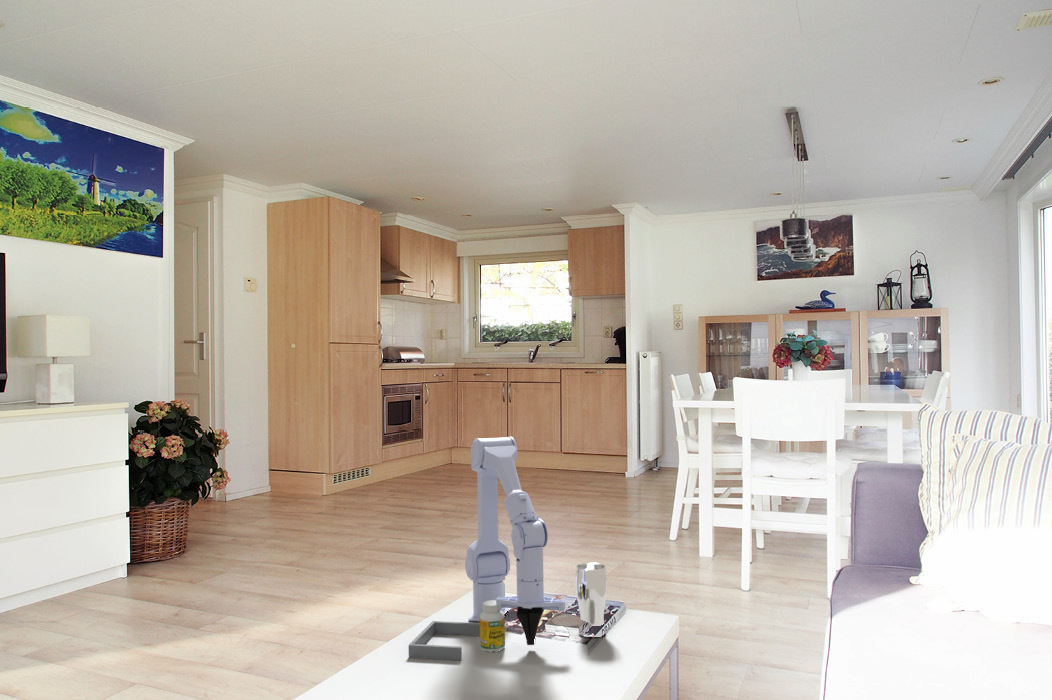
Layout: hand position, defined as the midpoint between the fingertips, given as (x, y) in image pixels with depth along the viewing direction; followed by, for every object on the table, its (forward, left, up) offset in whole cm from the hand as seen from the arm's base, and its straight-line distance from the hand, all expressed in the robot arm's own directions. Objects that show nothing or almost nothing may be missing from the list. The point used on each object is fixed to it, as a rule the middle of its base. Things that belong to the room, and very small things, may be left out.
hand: (531, 643), depth 157 cm
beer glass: (-12, +12, -2) cm, 17 cm away
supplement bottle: (0, -8, -2) cm, 9 cm away
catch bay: (0, -18, -1) cm, 18 cm away
